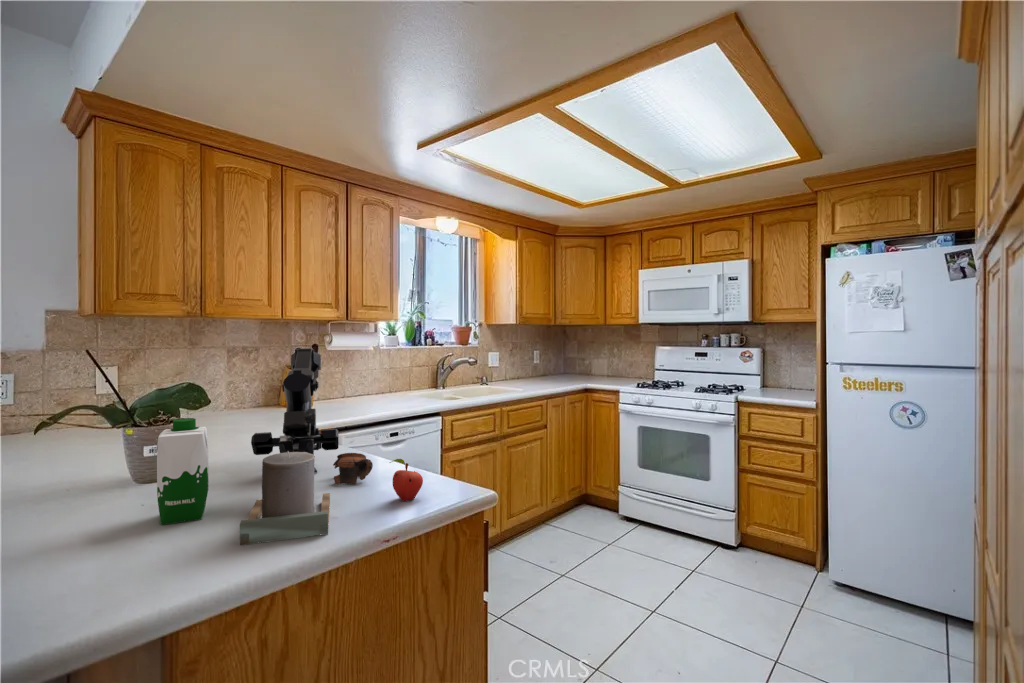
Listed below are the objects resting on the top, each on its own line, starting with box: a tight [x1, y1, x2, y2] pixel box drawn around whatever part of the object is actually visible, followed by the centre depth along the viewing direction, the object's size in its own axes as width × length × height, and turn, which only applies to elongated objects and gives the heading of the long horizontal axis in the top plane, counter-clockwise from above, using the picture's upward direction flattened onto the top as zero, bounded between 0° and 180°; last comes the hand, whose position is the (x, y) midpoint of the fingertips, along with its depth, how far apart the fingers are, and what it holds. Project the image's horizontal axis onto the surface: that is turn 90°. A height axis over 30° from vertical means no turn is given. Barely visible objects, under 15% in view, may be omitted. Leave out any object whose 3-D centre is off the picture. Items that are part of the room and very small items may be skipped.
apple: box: [388, 458, 424, 502], centre depth 113 cm, size 8×7×10 cm
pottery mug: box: [332, 452, 374, 485], centre depth 128 cm, size 12×10×8 cm
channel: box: [239, 492, 331, 546], centre depth 100 cm, size 19×15×4 cm
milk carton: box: [155, 417, 209, 526], centre depth 102 cm, size 9×9×20 cm
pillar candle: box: [261, 451, 316, 518], centre depth 98 cm, size 10×10×15 cm
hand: (294, 473), depth 110 cm, fingers closed
